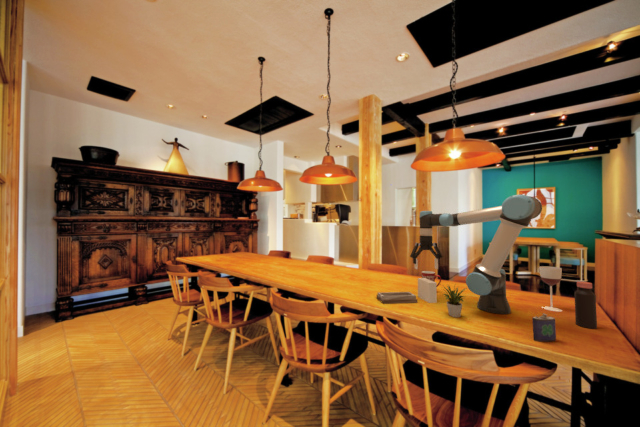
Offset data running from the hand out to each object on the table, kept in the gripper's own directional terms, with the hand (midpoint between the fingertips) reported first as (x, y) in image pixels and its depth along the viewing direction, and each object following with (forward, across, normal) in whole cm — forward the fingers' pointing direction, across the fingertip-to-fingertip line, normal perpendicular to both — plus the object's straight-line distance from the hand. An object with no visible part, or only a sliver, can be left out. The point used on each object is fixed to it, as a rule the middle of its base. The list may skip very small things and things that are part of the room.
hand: (426, 269), depth 156 cm
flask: (+19, -18, +57) cm, 63 cm away
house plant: (+19, +2, +27) cm, 33 cm away
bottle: (+19, -52, +46) cm, 72 cm away
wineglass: (+19, -61, +23) cm, 68 cm away
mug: (+19, -13, -17) cm, 29 cm away
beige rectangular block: (+19, 0, 0) cm, 19 cm away
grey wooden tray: (+19, +20, 0) cm, 27 cm away
